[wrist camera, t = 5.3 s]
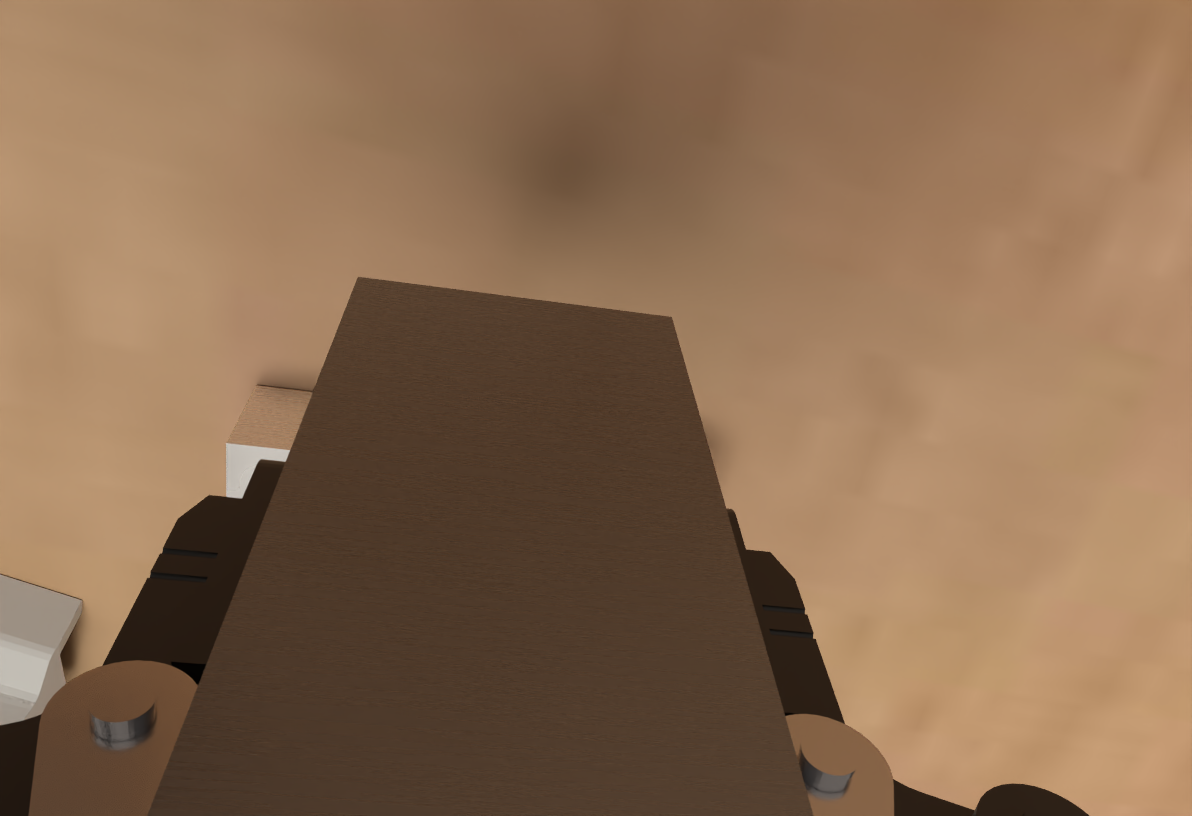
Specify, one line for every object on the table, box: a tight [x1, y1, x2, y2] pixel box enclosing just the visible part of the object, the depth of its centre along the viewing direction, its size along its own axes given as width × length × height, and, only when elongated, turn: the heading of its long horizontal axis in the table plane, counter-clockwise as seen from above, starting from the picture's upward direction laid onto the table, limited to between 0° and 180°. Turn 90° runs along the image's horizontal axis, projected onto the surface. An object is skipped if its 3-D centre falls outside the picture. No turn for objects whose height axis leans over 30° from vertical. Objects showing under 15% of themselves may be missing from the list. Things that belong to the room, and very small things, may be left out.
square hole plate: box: [226, 385, 313, 498], centre depth 30 cm, size 15×12×3 cm
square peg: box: [147, 277, 814, 816], centre depth 11 cm, size 4×4×10 cm
